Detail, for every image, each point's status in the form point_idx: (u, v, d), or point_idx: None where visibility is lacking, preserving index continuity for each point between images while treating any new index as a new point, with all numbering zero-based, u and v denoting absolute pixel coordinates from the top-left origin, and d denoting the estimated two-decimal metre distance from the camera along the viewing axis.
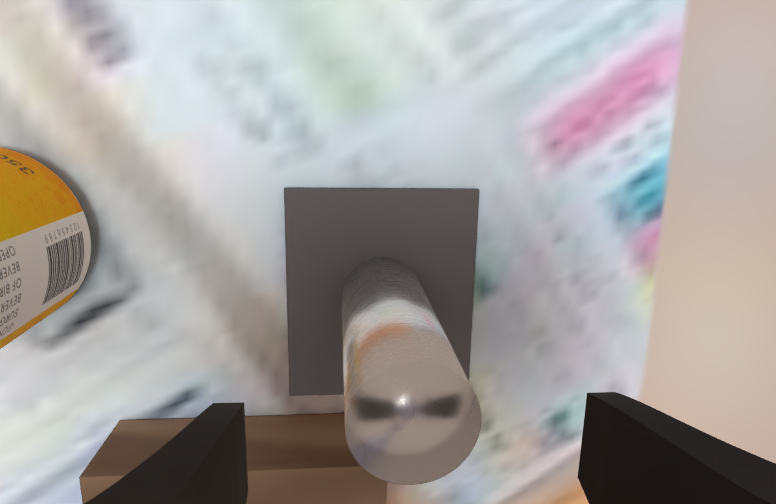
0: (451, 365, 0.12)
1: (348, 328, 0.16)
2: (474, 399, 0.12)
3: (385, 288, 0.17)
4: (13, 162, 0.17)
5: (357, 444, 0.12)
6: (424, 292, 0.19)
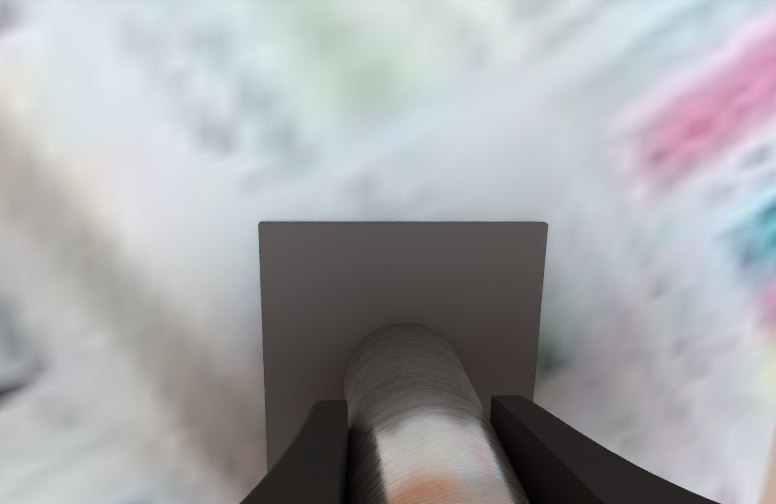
0: None
1: (357, 478, 0.09)
2: None
3: (417, 397, 0.10)
4: None
5: None
6: (471, 386, 0.12)
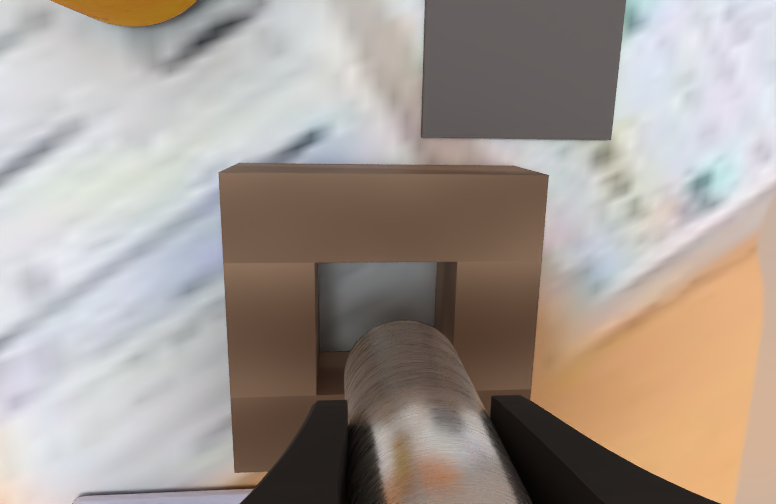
0: None
1: (358, 472, 0.09)
2: None
3: (420, 393, 0.10)
4: None
5: None
6: None
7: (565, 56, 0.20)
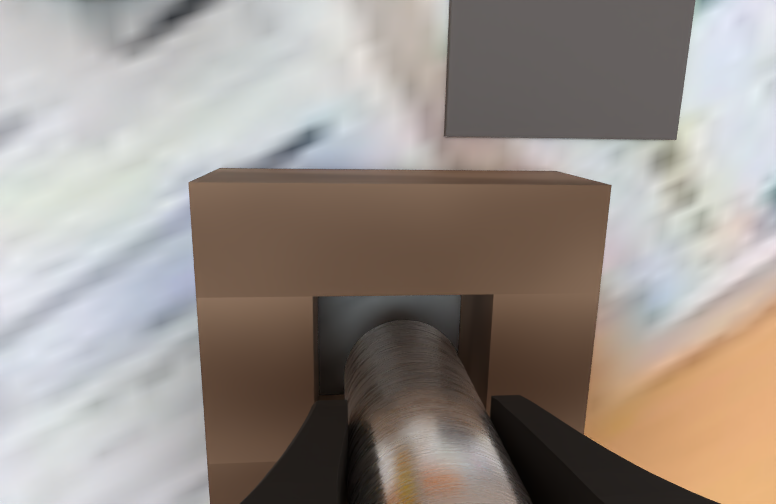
0: None
1: (358, 472, 0.09)
2: None
3: (420, 393, 0.10)
4: None
5: None
6: None
7: (623, 36, 0.16)
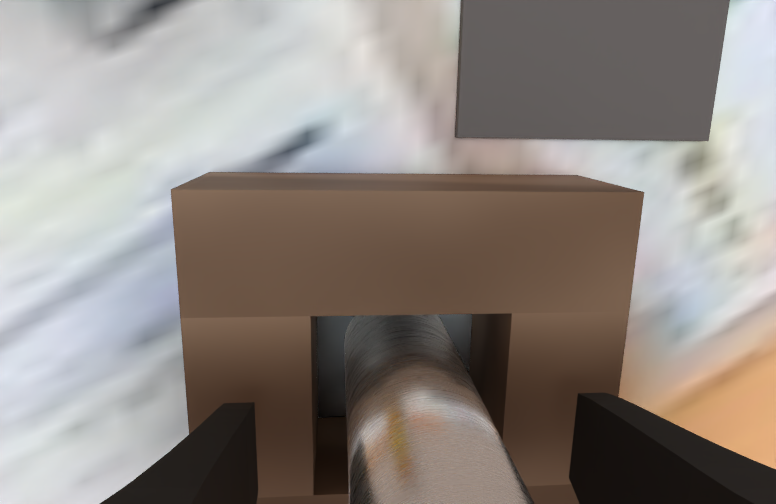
0: None
1: (356, 409, 0.11)
2: None
3: (407, 349, 0.12)
4: None
5: None
6: None
7: (652, 27, 0.14)
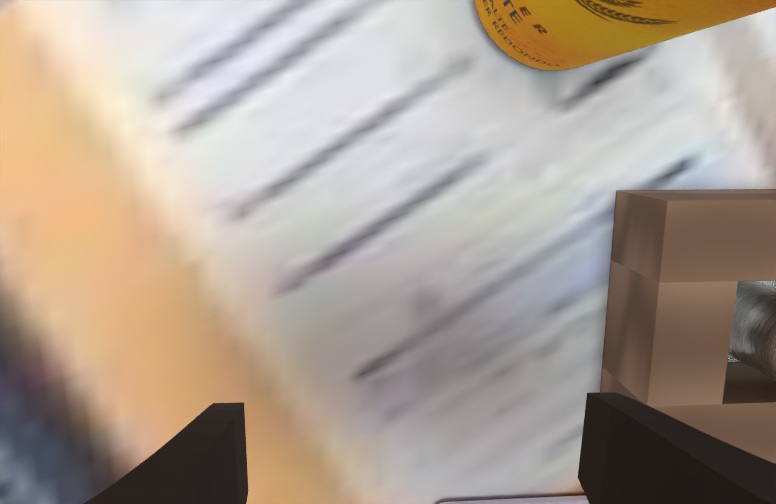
0: None
1: None
2: None
3: None
4: None
5: None
6: None
7: None
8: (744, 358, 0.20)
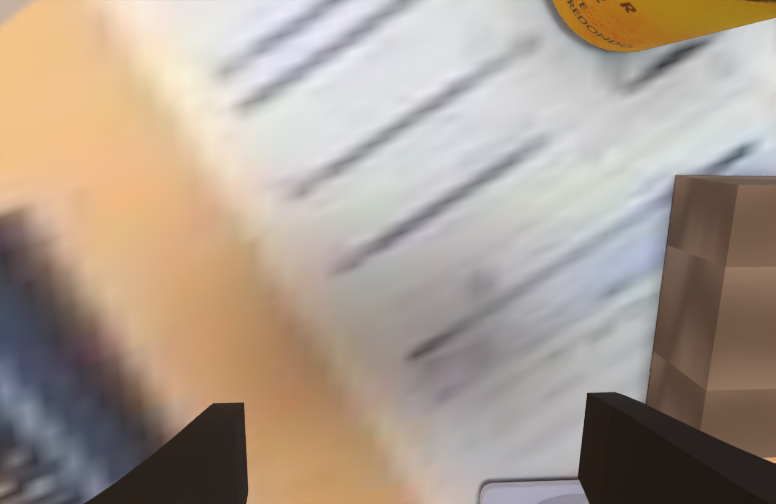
0: None
1: None
2: None
3: None
4: None
5: None
6: None
7: None
8: None
